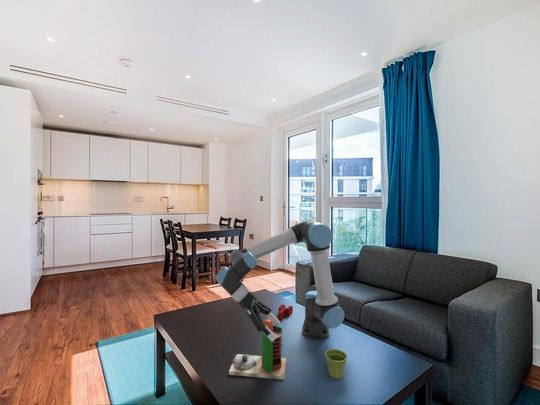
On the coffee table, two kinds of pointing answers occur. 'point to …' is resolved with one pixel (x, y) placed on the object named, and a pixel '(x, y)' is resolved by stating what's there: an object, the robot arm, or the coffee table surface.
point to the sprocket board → (255, 367)
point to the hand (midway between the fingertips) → (276, 331)
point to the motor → (271, 348)
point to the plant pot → (336, 362)
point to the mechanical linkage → (284, 312)
